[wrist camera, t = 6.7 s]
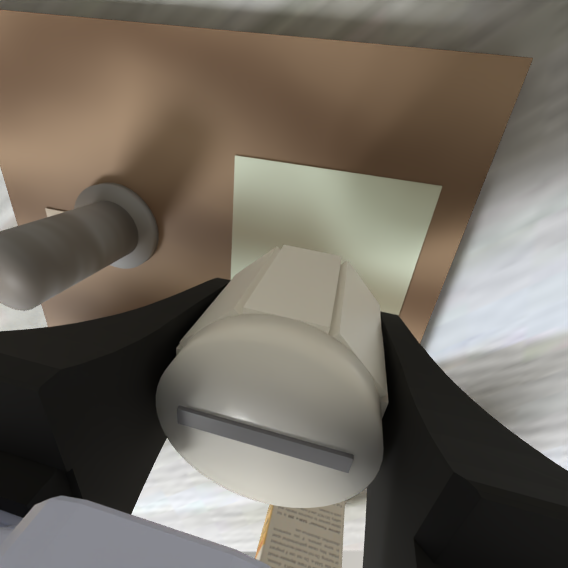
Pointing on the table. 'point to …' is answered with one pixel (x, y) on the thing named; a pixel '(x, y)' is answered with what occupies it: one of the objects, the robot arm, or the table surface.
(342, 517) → the supplement box
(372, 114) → the board
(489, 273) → the table surface
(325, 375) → the cap
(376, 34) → the table surface
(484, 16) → the table surface
